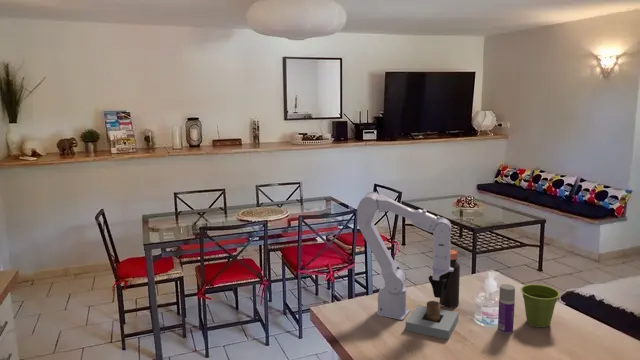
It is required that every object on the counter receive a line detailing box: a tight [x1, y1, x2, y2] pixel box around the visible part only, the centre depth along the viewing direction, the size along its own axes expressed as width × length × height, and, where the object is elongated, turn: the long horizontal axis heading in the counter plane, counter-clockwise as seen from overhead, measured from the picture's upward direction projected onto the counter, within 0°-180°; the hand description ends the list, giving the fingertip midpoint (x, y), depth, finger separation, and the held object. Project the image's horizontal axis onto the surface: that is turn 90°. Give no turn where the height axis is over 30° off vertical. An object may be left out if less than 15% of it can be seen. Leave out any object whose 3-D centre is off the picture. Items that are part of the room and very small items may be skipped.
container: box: [497, 283, 516, 335], centre depth 155 cm, size 5×5×15 cm
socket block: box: [405, 304, 460, 341], centre depth 160 cm, size 14×14×3 cm
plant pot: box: [520, 283, 561, 328], centre depth 159 cm, size 12×12×11 cm
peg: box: [426, 300, 441, 323], centre depth 159 cm, size 4×4×7 cm
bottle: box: [439, 249, 461, 308], centre depth 174 cm, size 7×7×20 cm
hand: (440, 292), depth 163 cm, fingers open, 7 cm apart
